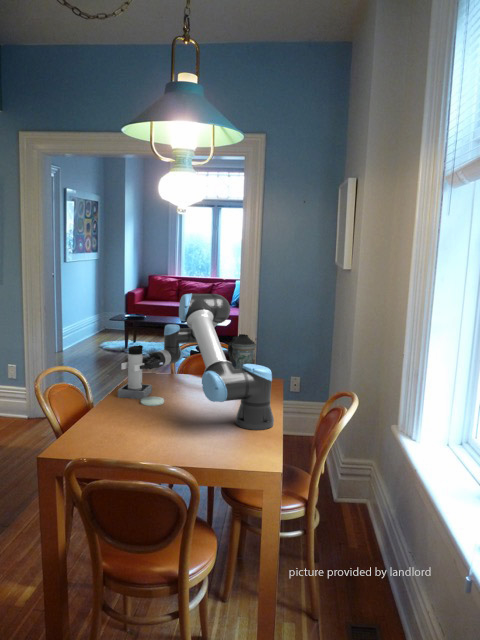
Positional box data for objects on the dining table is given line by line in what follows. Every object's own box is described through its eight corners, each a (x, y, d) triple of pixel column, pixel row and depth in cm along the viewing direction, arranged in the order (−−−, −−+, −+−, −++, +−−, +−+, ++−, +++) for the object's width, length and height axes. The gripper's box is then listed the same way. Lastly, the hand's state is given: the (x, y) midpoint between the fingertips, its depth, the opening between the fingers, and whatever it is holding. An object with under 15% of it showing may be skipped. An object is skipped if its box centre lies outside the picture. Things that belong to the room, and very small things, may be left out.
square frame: (143, 399, 223) (143, 391, 222) (117, 397, 224) (117, 389, 224) (151, 392, 235) (152, 384, 234) (127, 390, 236) (127, 382, 236)
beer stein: (250, 389, 246) (252, 339, 242) (215, 383, 254) (217, 335, 250) (263, 382, 261) (265, 334, 257) (229, 377, 269) (231, 330, 265)
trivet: (160, 406, 214) (160, 404, 214) (137, 404, 215) (137, 402, 215) (166, 400, 224) (166, 397, 223) (145, 398, 225) (145, 395, 225)
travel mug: (145, 389, 230) (146, 346, 227) (133, 392, 225) (133, 348, 222) (137, 386, 234) (137, 344, 231) (125, 389, 229) (125, 345, 226)
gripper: (175, 369, 240) (145, 379, 219) (143, 363, 248) (111, 372, 228) (176, 353, 239) (145, 362, 218) (143, 348, 248) (111, 356, 227)
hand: (128, 367), depth 223 cm, fingers closed on travel mug, 6 cm apart
